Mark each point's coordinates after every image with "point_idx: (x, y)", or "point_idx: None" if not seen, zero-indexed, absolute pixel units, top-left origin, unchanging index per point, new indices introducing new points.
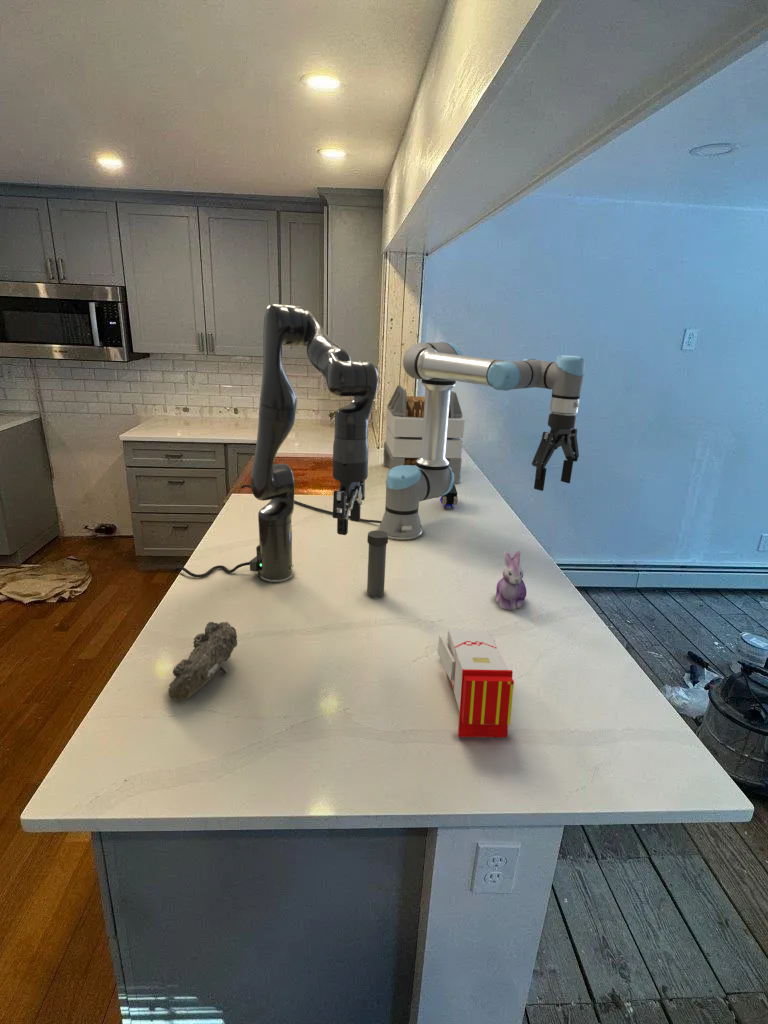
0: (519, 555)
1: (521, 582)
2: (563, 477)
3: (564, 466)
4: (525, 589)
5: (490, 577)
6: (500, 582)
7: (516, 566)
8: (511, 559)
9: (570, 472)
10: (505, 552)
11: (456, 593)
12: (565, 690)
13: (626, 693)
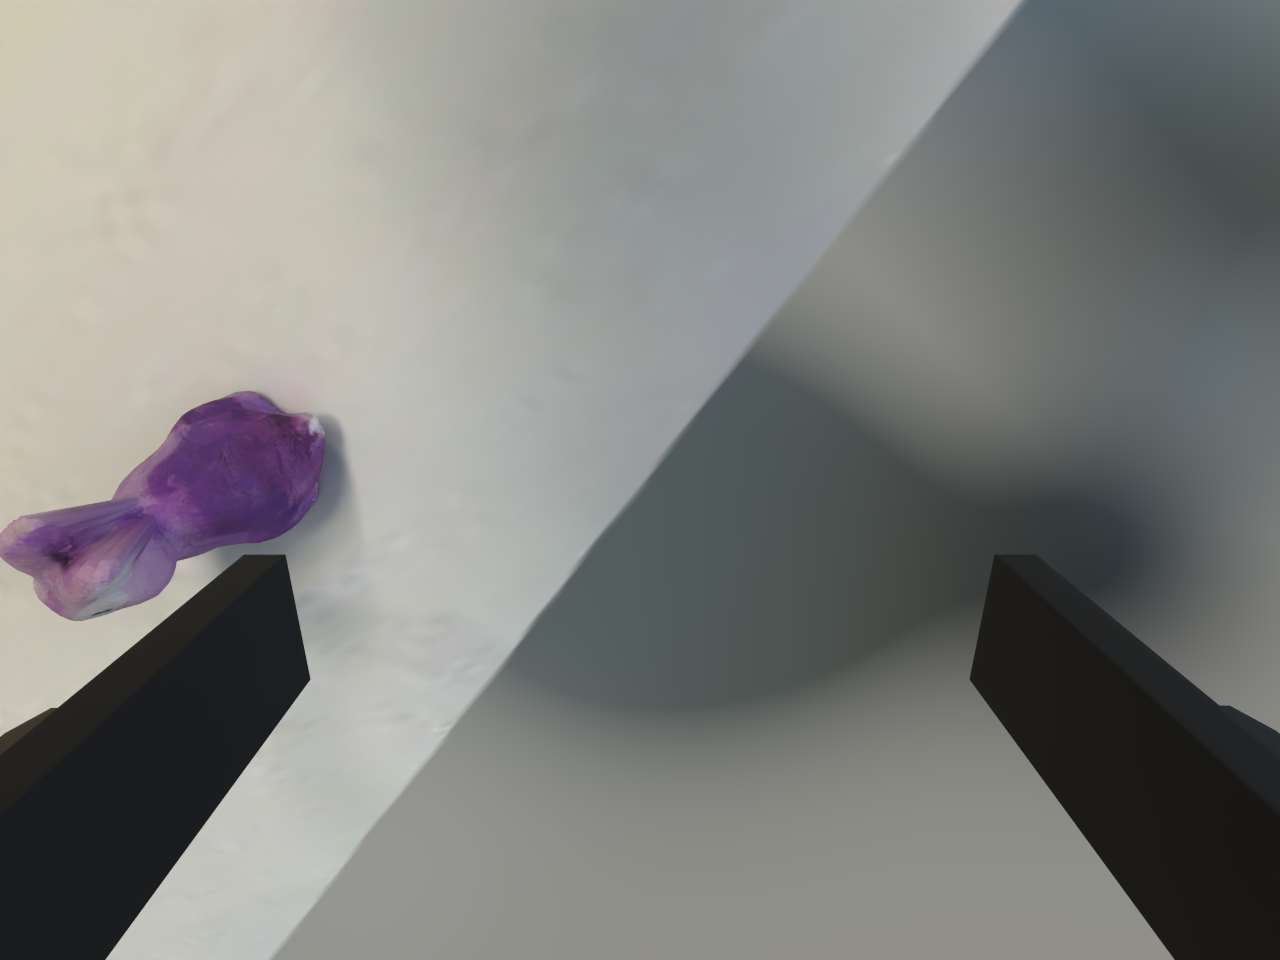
0: (82, 599)
1: (225, 539)
2: (1026, 630)
3: (1177, 770)
4: (266, 539)
5: (358, 231)
6: (159, 450)
7: (61, 605)
8: (47, 567)
9: (1078, 818)
10: (5, 532)
11: (67, 248)
12: None
13: (207, 929)
